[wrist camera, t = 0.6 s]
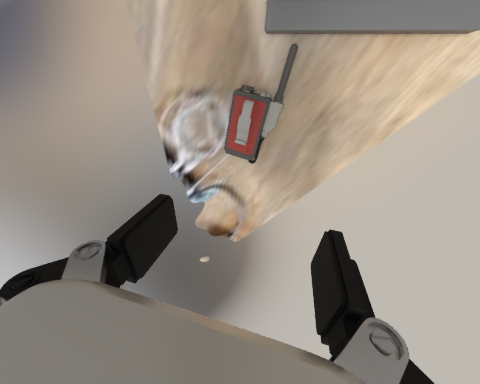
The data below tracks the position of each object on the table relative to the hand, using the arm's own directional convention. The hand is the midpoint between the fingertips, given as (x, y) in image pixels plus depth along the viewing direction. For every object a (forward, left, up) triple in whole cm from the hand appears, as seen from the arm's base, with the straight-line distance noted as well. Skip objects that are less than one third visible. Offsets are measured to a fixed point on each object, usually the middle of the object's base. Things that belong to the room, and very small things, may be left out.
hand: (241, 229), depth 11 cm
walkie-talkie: (-3, -4, -28) cm, 29 cm away
